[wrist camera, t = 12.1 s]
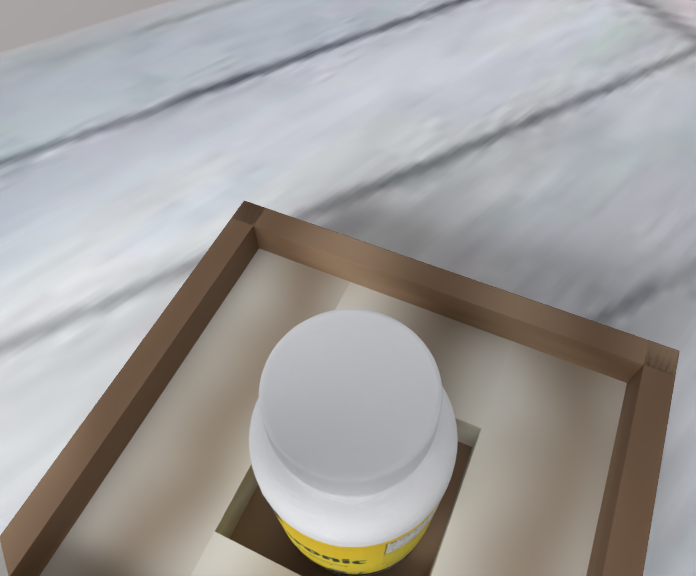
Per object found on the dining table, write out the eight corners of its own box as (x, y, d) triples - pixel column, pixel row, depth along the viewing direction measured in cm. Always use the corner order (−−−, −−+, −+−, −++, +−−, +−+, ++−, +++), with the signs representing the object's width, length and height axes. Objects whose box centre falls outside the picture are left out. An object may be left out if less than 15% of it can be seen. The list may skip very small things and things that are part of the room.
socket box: (30, 616, 20) (-50, 603, 16) (260, 264, 28) (244, 200, 24) (522, 918, 16) (573, 997, 12) (628, 401, 23) (679, 350, 20)
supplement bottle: (248, 495, 21) (173, 382, 13) (355, 395, 23) (352, 241, 15) (354, 620, 19) (349, 581, 10) (463, 496, 21) (531, 382, 12)
